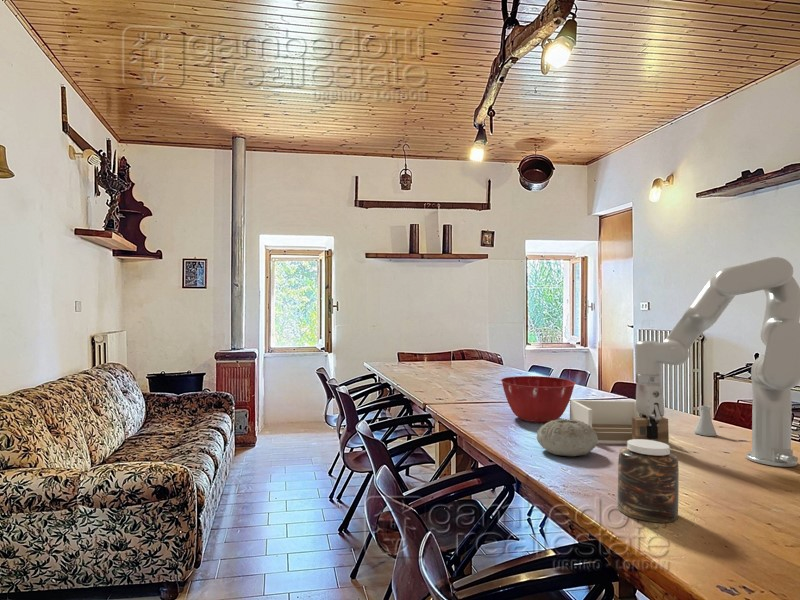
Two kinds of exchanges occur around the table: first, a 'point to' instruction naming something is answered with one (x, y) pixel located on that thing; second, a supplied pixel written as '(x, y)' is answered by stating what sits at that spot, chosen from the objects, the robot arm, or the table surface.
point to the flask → (705, 423)
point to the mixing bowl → (537, 397)
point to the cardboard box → (641, 429)
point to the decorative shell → (567, 437)
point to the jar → (648, 481)
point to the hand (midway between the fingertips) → (649, 436)
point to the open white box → (606, 418)
